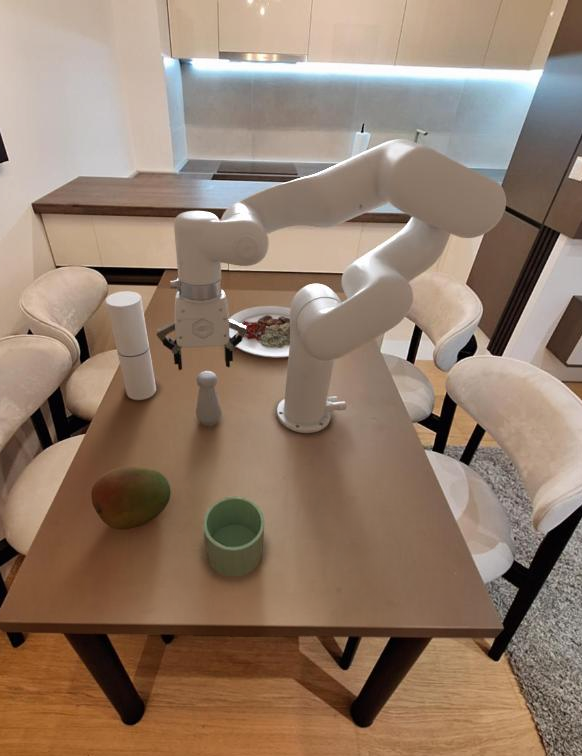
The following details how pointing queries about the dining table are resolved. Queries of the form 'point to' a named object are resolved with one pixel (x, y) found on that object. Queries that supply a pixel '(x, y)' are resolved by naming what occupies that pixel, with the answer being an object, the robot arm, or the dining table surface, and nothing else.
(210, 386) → the salt shaker
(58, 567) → the dining table surface
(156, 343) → the dining table surface
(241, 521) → the cup
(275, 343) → the plated food
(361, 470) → the dining table surface
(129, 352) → the cylindrical container
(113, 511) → the fruit
